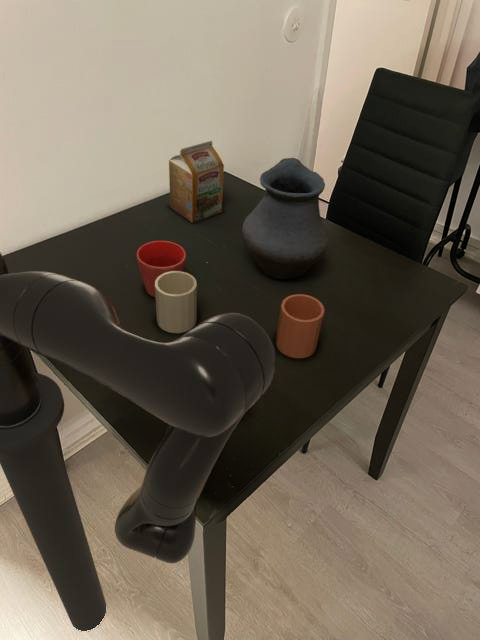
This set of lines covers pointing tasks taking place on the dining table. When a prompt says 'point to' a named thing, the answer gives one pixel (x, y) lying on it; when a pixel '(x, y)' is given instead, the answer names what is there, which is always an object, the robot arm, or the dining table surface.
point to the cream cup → (176, 301)
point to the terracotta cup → (299, 325)
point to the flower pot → (159, 261)
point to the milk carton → (196, 182)
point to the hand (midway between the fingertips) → (220, 355)
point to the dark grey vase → (287, 221)
